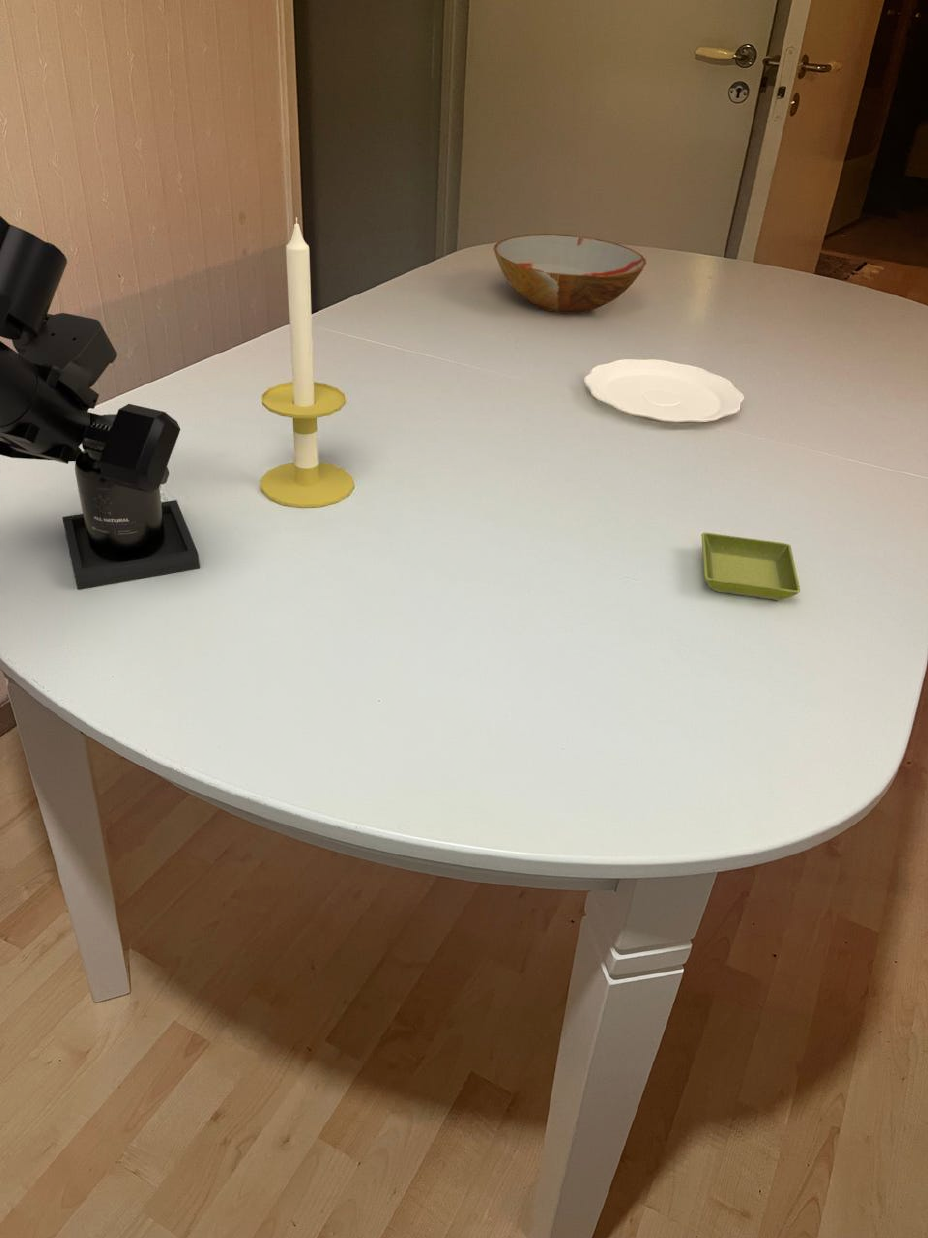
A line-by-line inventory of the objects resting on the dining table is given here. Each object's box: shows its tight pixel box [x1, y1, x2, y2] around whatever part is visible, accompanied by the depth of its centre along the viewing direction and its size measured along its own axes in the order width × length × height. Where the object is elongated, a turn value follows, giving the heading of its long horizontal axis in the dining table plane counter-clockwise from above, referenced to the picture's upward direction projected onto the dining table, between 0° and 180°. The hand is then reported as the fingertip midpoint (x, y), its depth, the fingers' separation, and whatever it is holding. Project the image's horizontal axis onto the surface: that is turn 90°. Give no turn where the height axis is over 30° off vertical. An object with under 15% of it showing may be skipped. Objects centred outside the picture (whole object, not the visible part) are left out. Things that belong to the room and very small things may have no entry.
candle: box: [259, 216, 355, 509], centre depth 91 cm, size 10×10×27 cm
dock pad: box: [61, 499, 201, 590], centre depth 86 cm, size 11×11×2 cm
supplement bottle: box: [74, 413, 165, 561], centre depth 83 cm, size 7×7×12 cm
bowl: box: [493, 233, 647, 314], centre depth 154 cm, size 25×25×8 cm
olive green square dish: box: [700, 532, 801, 601], centre depth 88 cm, size 9×9×2 cm
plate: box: [583, 358, 745, 424], centre depth 124 cm, size 21×21×2 cm
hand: (122, 466), depth 82 cm, fingers open, 9 cm apart
